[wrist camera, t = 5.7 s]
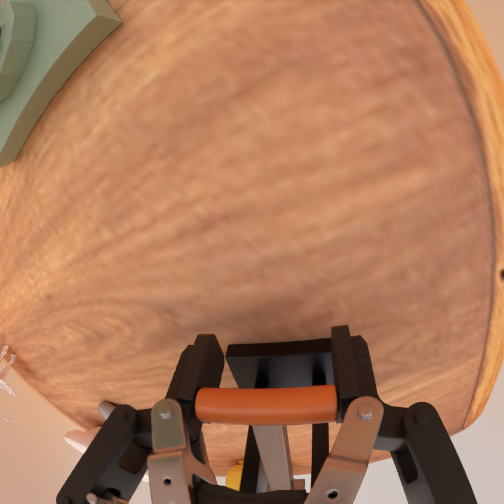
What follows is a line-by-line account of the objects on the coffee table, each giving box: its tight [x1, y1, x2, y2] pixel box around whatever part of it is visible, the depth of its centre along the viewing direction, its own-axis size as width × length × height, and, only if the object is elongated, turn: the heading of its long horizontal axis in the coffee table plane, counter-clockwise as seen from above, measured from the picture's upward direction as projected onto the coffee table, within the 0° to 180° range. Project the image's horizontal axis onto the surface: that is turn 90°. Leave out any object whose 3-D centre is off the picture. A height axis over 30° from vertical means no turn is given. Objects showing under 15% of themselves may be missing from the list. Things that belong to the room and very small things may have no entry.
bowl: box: [63, 426, 149, 482], centre depth 35 cm, size 20×20×7 cm
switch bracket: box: [225, 338, 334, 494], centre depth 15 cm, size 10×8×12 cm
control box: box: [0, 0, 122, 167], centre depth 7 cm, size 10×12×4 cm
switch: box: [195, 384, 337, 492], centre depth 10 cm, size 12×5×2 cm, turn 11°
